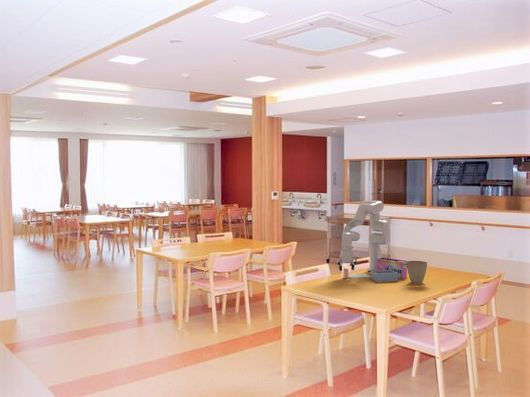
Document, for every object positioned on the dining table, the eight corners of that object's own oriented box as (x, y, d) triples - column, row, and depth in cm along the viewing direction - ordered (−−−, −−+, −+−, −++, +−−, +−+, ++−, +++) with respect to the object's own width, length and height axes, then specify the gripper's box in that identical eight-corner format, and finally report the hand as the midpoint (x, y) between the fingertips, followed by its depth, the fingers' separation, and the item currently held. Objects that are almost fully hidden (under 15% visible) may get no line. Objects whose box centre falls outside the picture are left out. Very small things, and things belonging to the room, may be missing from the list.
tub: (370, 280, 384) (370, 270, 384) (391, 279, 388) (391, 270, 388) (376, 283, 374) (377, 273, 373) (397, 282, 377) (398, 272, 377)
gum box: (374, 275, 403) (375, 258, 402) (379, 273, 408) (380, 257, 408) (402, 279, 386) (402, 262, 386) (407, 278, 392) (407, 260, 392)
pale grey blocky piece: (341, 277, 396) (342, 267, 396) (364, 275, 400) (365, 266, 400) (347, 280, 385) (347, 269, 385) (370, 278, 390) (371, 268, 389)
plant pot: (428, 282, 375) (429, 261, 375) (424, 286, 362) (425, 264, 361) (408, 280, 382) (408, 259, 382) (403, 284, 369) (404, 262, 368)
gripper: (355, 247, 396) (355, 268, 397) (334, 248, 392) (334, 270, 393) (359, 248, 388) (359, 270, 389) (337, 249, 384) (338, 271, 386)
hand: (346, 270), depth 391 cm, fingers open, 9 cm apart
